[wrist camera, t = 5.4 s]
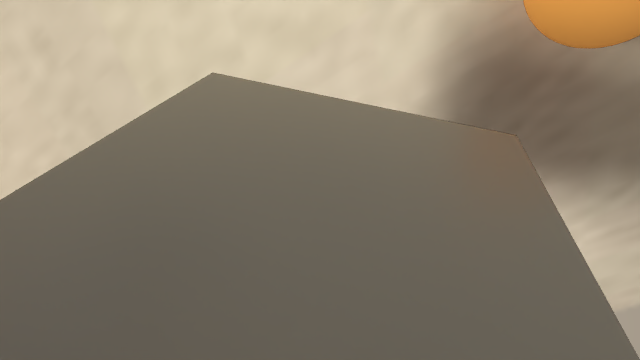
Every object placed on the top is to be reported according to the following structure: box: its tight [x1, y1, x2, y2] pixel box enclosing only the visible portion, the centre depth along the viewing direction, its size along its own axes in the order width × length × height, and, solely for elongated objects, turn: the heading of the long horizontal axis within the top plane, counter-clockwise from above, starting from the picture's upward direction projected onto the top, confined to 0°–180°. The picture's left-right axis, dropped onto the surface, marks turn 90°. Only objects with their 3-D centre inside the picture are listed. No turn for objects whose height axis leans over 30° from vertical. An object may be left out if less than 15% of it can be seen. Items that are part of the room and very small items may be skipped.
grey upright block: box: [0, 73, 640, 360], centre depth 8 cm, size 8×8×9 cm
